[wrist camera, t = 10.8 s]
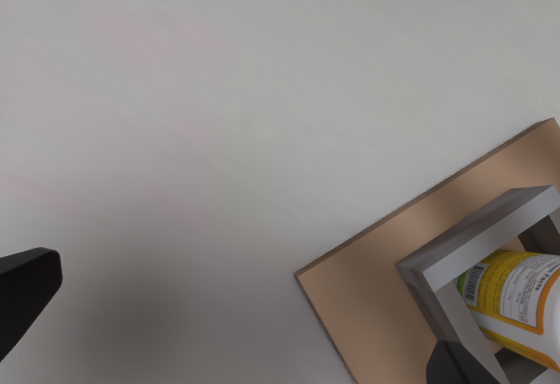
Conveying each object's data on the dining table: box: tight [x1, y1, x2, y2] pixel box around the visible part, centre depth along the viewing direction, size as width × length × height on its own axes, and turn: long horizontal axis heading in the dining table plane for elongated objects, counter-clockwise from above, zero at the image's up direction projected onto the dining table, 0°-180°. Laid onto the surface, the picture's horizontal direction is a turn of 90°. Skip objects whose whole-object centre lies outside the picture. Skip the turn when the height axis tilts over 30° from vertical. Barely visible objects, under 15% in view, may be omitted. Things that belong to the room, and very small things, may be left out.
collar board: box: [294, 118, 560, 384], centre depth 21 cm, size 20×14×4 cm
